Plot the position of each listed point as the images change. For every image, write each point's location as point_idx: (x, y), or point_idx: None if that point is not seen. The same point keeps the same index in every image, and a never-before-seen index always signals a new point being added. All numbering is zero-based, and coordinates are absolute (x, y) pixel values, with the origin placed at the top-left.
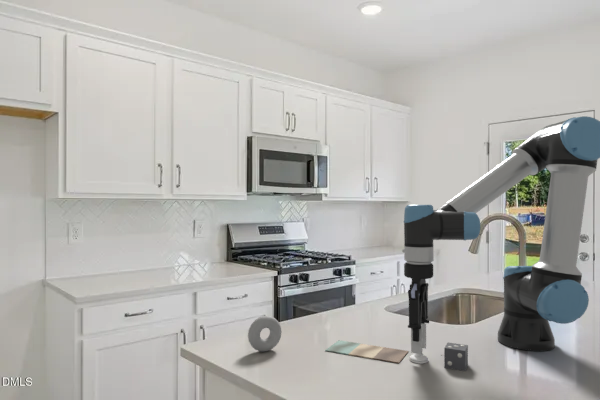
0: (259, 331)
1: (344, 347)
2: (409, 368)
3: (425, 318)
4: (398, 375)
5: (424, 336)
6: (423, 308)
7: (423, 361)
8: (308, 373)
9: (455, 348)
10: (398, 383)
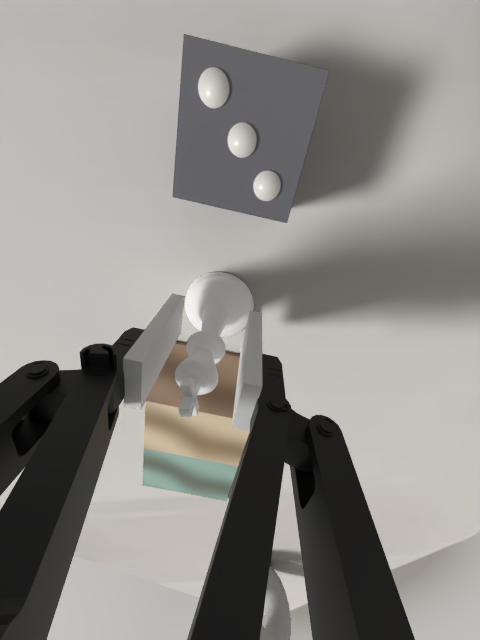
0: (283, 628)
1: (192, 474)
2: (310, 333)
3: (104, 386)
4: (376, 361)
5: (167, 326)
6: (76, 480)
7: (246, 291)
8: (372, 510)
9: (286, 149)
10: (442, 361)
